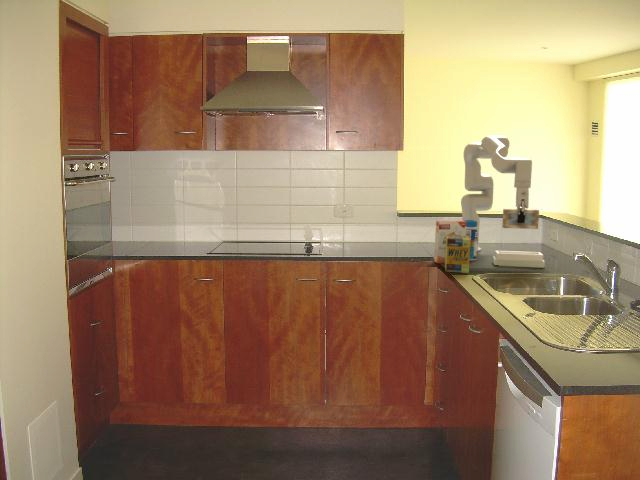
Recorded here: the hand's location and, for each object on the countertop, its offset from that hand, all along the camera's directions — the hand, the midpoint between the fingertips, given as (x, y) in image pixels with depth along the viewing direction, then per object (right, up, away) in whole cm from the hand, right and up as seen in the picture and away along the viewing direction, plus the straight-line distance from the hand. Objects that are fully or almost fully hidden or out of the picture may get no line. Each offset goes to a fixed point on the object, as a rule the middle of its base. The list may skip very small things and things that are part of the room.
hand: (520, 221), depth 294 cm
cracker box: (-33, -20, +7) cm, 39 cm away
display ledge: (0, -21, +3) cm, 21 cm away
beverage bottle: (-21, -19, +17) cm, 33 cm away
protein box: (-33, -23, -11) cm, 42 cm away
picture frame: (0, -3, 0) cm, 3 cm away
